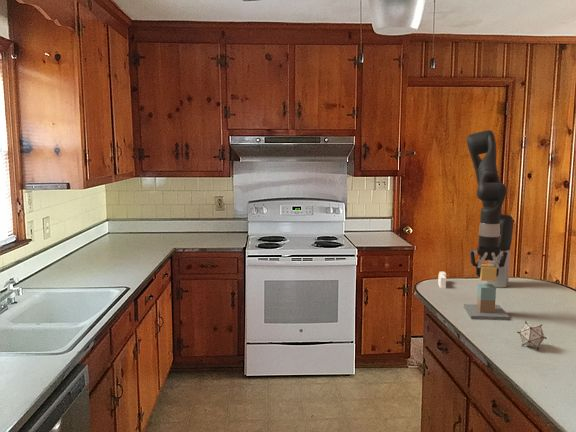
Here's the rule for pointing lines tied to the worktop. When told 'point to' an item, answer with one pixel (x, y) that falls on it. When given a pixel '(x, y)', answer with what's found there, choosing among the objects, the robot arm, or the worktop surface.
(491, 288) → the teal block
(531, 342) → the game die
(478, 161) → the robot arm
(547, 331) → the worktop surface
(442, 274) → the notched block
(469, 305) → the baseplate
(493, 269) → the ochre block
